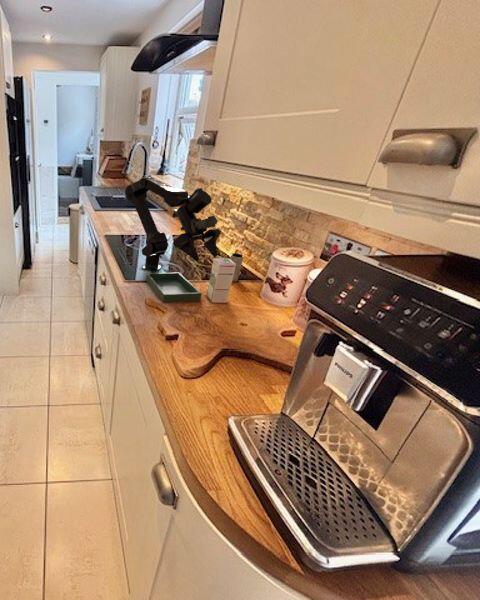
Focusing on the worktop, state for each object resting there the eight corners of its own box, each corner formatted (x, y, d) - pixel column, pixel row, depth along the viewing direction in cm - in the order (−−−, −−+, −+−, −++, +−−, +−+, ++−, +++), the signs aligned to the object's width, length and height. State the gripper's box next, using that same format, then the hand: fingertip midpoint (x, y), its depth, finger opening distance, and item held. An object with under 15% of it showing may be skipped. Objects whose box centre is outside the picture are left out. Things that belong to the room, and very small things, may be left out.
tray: (145, 280, 130) (146, 273, 128) (177, 279, 131) (179, 272, 130) (163, 302, 112) (164, 294, 111) (200, 300, 114) (201, 293, 113)
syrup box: (227, 303, 113) (237, 263, 106) (210, 302, 113) (219, 263, 106) (221, 295, 118) (230, 257, 111) (205, 295, 118) (213, 257, 112)
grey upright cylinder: (225, 280, 131) (230, 255, 127) (226, 276, 135) (231, 252, 130) (237, 282, 130) (243, 257, 125) (238, 278, 133) (244, 254, 129)
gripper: (184, 210, 108) (204, 251, 104) (222, 205, 116) (242, 243, 112) (164, 228, 117) (182, 266, 114) (200, 223, 126) (218, 258, 122)
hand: (207, 258), depth 115 cm, fingers open, 9 cm apart
